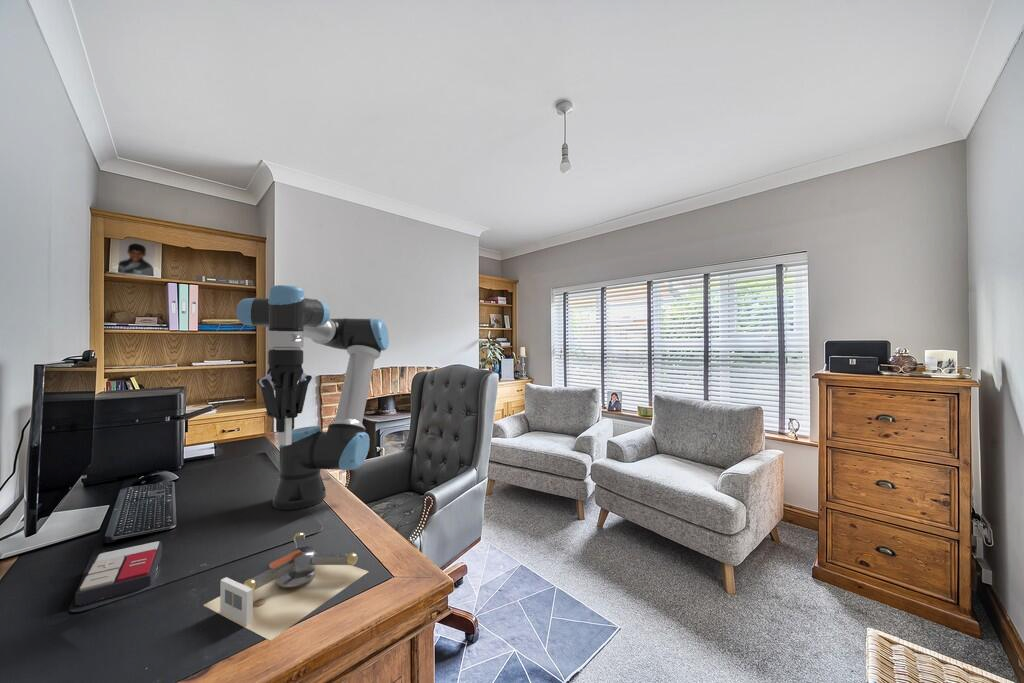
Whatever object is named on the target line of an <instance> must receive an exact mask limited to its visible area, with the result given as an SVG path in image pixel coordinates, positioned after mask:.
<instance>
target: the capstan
mask: <svg viewBox="0 0 1024 683" xmlns="http://www.w3.org/2000/svg"><path fill="white" fill-rule="evenodd" d="M305 539H306V534H305V533H304V532H303V531H299V532H296V533H295V534H294V536H293V541H294V542H295V549H293V550H292V551H290V552H289V553H288V554H287V555H285V556H282V557H280V558H278V559H276V560H273V561H272V562H270V563H269V567H268V568H269V569H268V570H265V571H263V572H262V573H259V574H257V575H256V576H254V577H252V578H249V579H247V580H245V581H244V582H243V583H242V584H243V585H245V586H247V587H249V588H252V589H253V591H254V590H256V589H258V588H260V587H262V586H263V585H265V584H267V583H269V582H271V581H273V580H275V579H277V585H278V587H280V588H282V589H293V588H298V587H301V586H303V585H305V584H307V583H309V582H310V581H311V580H312V579H313V578H314V577H315V565H350V566H351V565H352V566H354V565H355V564H356V563H357V562H358V559H359V558H358V557H359V556H358V555H357V553H356V552H345V553H341V552H338V553H335V552H334V553H333V552H331V553H330V552H329V553H327V552H325V553H324V552H323V553H321V552H316V548H315V546H309V545H308V546H307V545H305V544H306V542H305Z"/></svg>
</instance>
